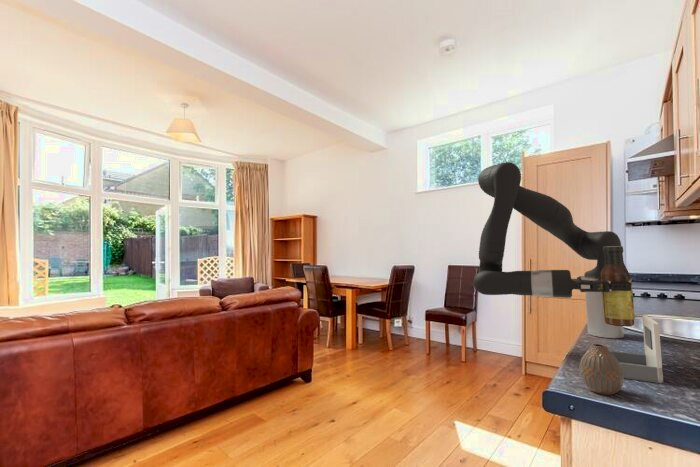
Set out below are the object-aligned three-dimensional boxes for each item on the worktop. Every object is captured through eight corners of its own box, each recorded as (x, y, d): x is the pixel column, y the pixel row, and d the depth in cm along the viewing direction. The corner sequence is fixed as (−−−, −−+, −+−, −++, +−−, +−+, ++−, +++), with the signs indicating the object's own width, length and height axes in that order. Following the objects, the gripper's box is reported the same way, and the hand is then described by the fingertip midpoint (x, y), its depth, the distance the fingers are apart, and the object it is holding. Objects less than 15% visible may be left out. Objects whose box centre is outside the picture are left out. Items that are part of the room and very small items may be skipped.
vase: (610, 401, 61) (607, 351, 61) (572, 387, 67) (570, 343, 68) (633, 394, 64) (629, 347, 64) (594, 381, 70) (591, 339, 71)
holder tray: (590, 361, 83) (587, 312, 83) (650, 368, 77) (646, 315, 78) (595, 374, 74) (592, 319, 75) (663, 383, 68) (658, 323, 69)
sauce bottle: (641, 327, 81) (636, 246, 82) (612, 327, 82) (607, 246, 83) (625, 321, 88) (620, 245, 88) (598, 321, 89) (593, 246, 90)
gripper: (549, 271, 87) (633, 271, 78) (549, 268, 99) (622, 268, 91) (551, 300, 87) (635, 304, 78) (551, 293, 99) (624, 296, 90)
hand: (627, 284), depth 84 cm, fingers closed on sauce bottle, 6 cm apart
